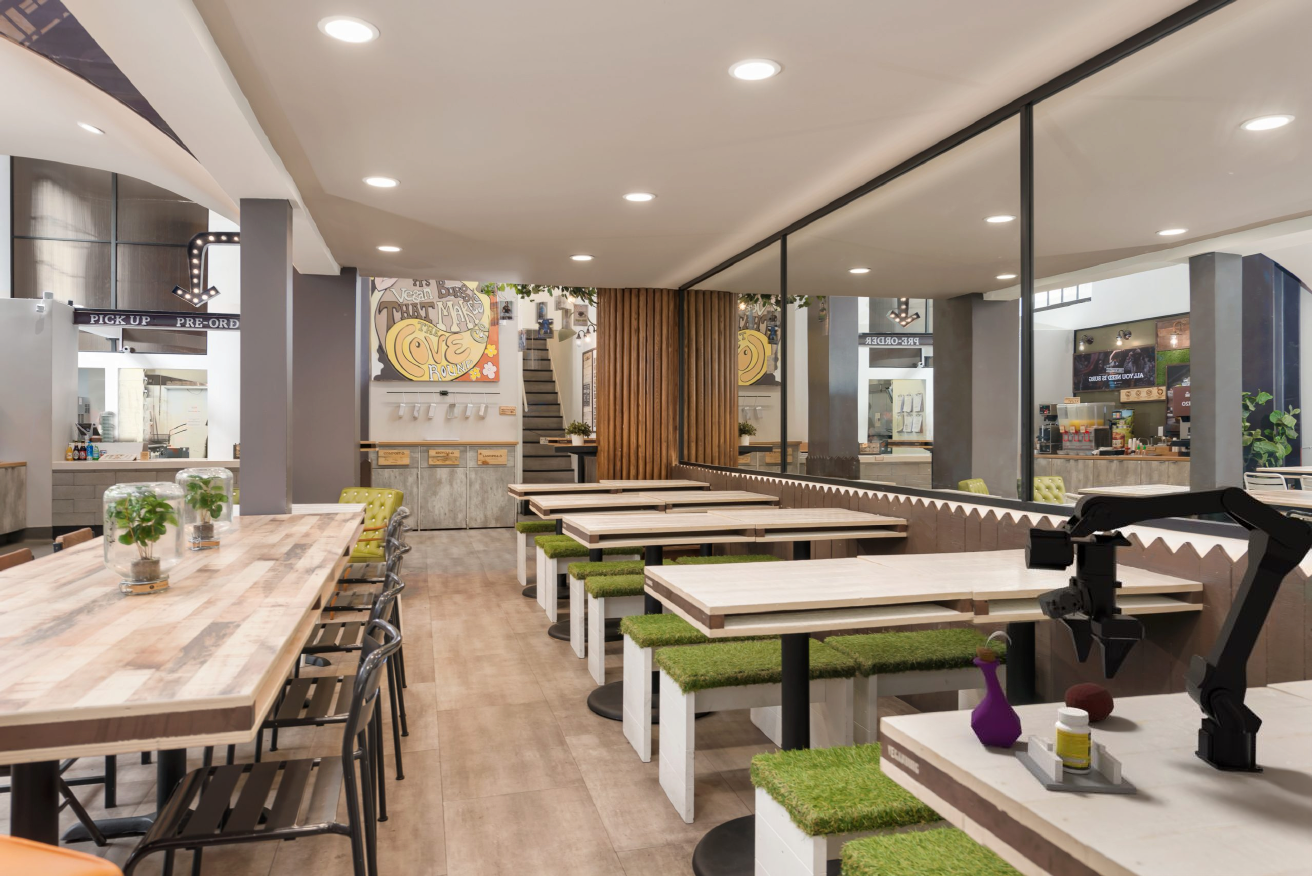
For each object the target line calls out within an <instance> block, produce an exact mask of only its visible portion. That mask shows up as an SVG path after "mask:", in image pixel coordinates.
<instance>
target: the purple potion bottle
mask: <svg viewBox="0 0 1312 876" xmlns="http://www.w3.org/2000/svg"><path fill="white" fill-rule="evenodd" d="M997 636H1004V637H1006V638H1007V639H1008V641H1009V643H1010V644H1012V640H1011V638H1010V636H1009V635H1008V634H1007V633H1006V632H1004V631H1003V630H998V631H995V632H993V633H992V634H991V635H990V636H989V637H988V639H987V642H986V644H985V646H978V647H976V648H975V650H976V654H977V657H975V658H973V664H974V665H977V666H978V667H979V668H980V670H981V672H982V673H983V674H982V675H983V676H984V679H985V683H986V694H985V697H984V698H983V699H982V700H981V702H979V704H978V705H977V706H976V707H974V709H973V710H972V711H971V713H970V715H971V717H970V719H971V720H970V727H971V728H972V729H971V730H973V732H974V734H975V735H976V737H977V738H978V740H979V742H980V744H981V745H984V746H990V747H997V748H1003V749H1004V748H1005V749H1010V748H1012V746H1013V745H1014V744H1015V743H1016V741H1017V740H1018V739H1019V738H1020V736H1021V735H1022V734H1023V730H1022V723H1021V722H1022V721H1021V717H1020V716H1019V715H1018V713H1017V712H1016V711H1015V709H1014V708H1013V706H1012V705H1011V704H1010V702H1009V701H1008V698H1007V696H1005V693H1004V691H1003V689H1002V686H1001V684H1000V680H999V679H998V676H997V672H996V671H997V668H998V667H999V666H1001V662H1000V660H999V659H997V658H996V652H995V650H994V649H992V648H990V647H988V643H989V641H990V640H991V639H992V638H994V637H997Z"/></svg>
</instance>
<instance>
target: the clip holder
mask: <svg viewBox="0 0 1312 876" xmlns="http://www.w3.org/2000/svg"><path fill="white" fill-rule="evenodd" d="M1106 748H1107V747H1106V744H1104V743H1103V742H1101V741H1100V740H1099V739H1092V738H1091V770H1090V772H1089V773H1086V774H1074V773H1069V772H1065V771H1063V770H1062V769H1063V761H1062V760H1061V759H1060V758H1059V757H1058V756H1057V755H1056V754H1055V751H1054V742H1052V741H1051V740H1049V738H1048V737H1040V738H1038V737H1037V735H1035V734H1028V735H1027V751H1015V758H1017V760H1018V761H1019V762H1020V763H1021V764H1022V765H1023V766H1024V767H1025V769H1027V771H1028V772H1029V773H1030V774H1031V775H1032V776H1033V777H1034V778H1035V779H1036V780H1037V781H1038V782H1039V783H1040V785H1042V786H1043V788H1045V790H1046V791H1065V792H1066V791H1068V792H1070V791H1071V792H1084V793H1085V792H1088V793H1090V792H1092V793H1111V794H1134V795H1137V787H1136V786H1134V785H1133V784H1131V783H1130V782H1129V781H1128V780H1127V779H1126V778H1124V776H1122V762H1121V761H1120V760H1118V759H1117V758H1116V757H1114V756H1113V754H1111V753H1109V752H1108V751H1107V750H1106Z"/></svg>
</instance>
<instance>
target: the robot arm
mask: <svg viewBox="0 0 1312 876" xmlns="http://www.w3.org/2000/svg"><path fill="white" fill-rule="evenodd" d="M1073 510H1074V511H1073V514H1072V515H1071V516H1070V517H1069V519H1068V520H1067V521H1066V522H1065V523H1064V524H1063V525H1062V526H1061V528H1060V529H1053V528H1052V529H1049V528H1040V527H1033V526H1031V527H1028V528H1027V536H1026V541H1025V542H1026V544H1025V545H1024V560H1025V567H1026V570H1039V571H1040V570H1042V571H1059V572H1061V571H1062V572H1065V571H1066V570H1067V567H1071V566H1073V565H1074V561H1075V560H1076V561H1075V570H1076V571H1075V575H1071V577H1069V578H1068V585H1067V586H1064V587H1059V588H1056V589H1052V590H1050V591H1046V592H1043V593H1040V594H1038V595H1037V596H1036V598H1037V601H1038V604H1039V607H1040V608H1041V612H1042V615H1043V616H1047V617H1048V618H1049V619H1050V620H1059V621H1060V622H1061V623H1062V624H1064V625H1065V626H1066V627H1067V629H1068V632H1069V635H1070V638H1071V641H1072V644H1073V648H1074V651H1075V655H1076V659H1077V662H1079V664H1080V663H1082V664H1084V663H1087V660H1088V658H1089V655H1090V652H1091V649H1092V646H1093V643H1094V640H1095V641H1096V642H1097V643H1098V644H1099V645H1100V654H1101V663H1102V671H1103V676H1104V678H1105V679H1107V680H1113V679H1114V677H1115V676H1116V674H1117V673H1118V671H1119V669H1120V667H1121V666H1122V664H1123V662H1124V661H1125V659H1126V657H1127V656H1128V654H1129V653H1130V651H1131V650H1132V649H1133V647H1134V645H1136V644H1137V643H1140V640H1144V639H1145V625H1144V624H1143V623H1142V622H1141V621H1140V620H1139V619H1137V618H1135V617H1133V616H1131V615H1128V614H1123V613H1122V611H1123V610H1122V609H1123V608H1122V607H1120V606H1118V605H1117V589H1123V582H1122V581H1119V580H1118V579H1117V578H1118V577H1117V576H1118V575H1117V571H1118V569H1117V566H1118V564H1117V563H1118V561H1117V560H1118V559H1117V558H1118V547H1132V546H1133V543H1132V542H1131V541H1130V540H1129V539H1127V537H1125V536H1124V534H1123V533H1122V531H1120V530H1118V529H1122V528H1126V527H1129V526H1132V525H1134V524H1135V525H1136V524H1137V523H1141V522H1145V521H1150V520H1151V521H1152V520H1159V519H1160V520H1161V519H1172V518H1180V517H1191V516H1193V517H1194V516H1203V515H1214V514H1222V513H1224V514H1226V515H1227V516H1228V517H1230V518H1231V519H1232V520H1233V521H1234V522H1236V523H1237V524H1238V525H1239V526H1240V527H1242V528H1244V529H1245V530H1247V532H1249V533H1250V534H1249V537H1248V543H1247V560H1248V561H1247V562H1248V563H1247V568H1246V571H1245V572H1244V575H1243V577H1242V579H1241V582H1240V584H1239V587H1238V589H1237V591H1236V594H1235V596H1234V599H1233V601H1232V603H1231V606H1230V608H1229V610H1228V612H1227V615H1226V616H1225V617H1226V618H1225V620H1224V622H1223V625H1222V626H1221V629H1220V631H1219V633H1218V636H1217V638H1216V641H1215V643H1214V645H1213V647H1212V649H1211V650H1210V651H1209V652H1208V653H1207V654H1206V655H1205V656H1203V657H1201V656H1199V655H1197V654H1196V653H1194V654H1193V655H1192V657H1191V659H1190V664H1189V668H1188V669H1187V671H1186V672H1185V673H1184V674H1183V675H1182V677H1183V678H1184V679H1186V681H1185V690H1186V692H1187V694H1188V696H1189V698H1190V699H1191V700H1193V701H1194V702H1195V703H1196V704H1197V705H1198V707H1199V709H1200V712H1201V713H1202V714H1204V715H1205V716H1206V718H1204V717H1203V718H1202V717H1201V721H1200V722H1201V723H1200V724H1201V726H1200V727H1201V728H1199V729H1198V730H1197V732H1198V733H1197V734H1198V735H1197V737H1198V738H1197V750H1194V755H1196V756H1197V757H1199V758H1200V759H1202V760H1203V761H1205V762H1207V763H1208V764H1210V765H1211V766H1213V767H1214V768H1215V769H1217V770H1222V771H1244V772H1264V767H1262V766H1261V765H1259V764H1258V763H1257V734H1258V733H1259V731H1260V729H1261V726H1262V724H1263V720H1262V719H1261V717H1259V716H1258V715H1257V714H1256V713H1255V712H1254V711H1253V710H1252V709H1251V708H1249V707H1248V706H1247V704H1245V698H1246V695H1247V688H1248V674H1247V673H1248V669H1247V666H1248V662H1249V659H1250V657H1251V656H1252V653H1253V651H1254V648H1255V646H1256V644H1257V641H1258V639H1259V637H1260V635H1261V631H1262V629H1263V628H1264V627H1263V626H1264V625H1265V622H1266V620H1267V618H1268V616H1269V613H1270V611H1271V608H1272V607H1273V604H1274V602H1275V599H1276V597H1277V594H1278V592H1279V590H1280V588H1281V587H1282V583H1283V581H1284V579H1285V578H1286V576H1288V575H1289V574H1290V573H1291V572H1292V571H1293V570H1295V569H1296V568H1297V567H1298V566H1299V565H1300V564H1301V563H1302V562H1303V560H1304V559H1305V557H1306V555H1308V553H1309V551H1310V550H1311V548H1312V527H1311V526H1310V524H1309V523H1308V522H1306V521H1305V520H1303V519H1301V518H1298V517H1293V516H1288V515H1285V514H1284V513H1281V512H1280V511H1278V510H1277V509H1276V508H1273V507H1272V506H1270V505H1268V504H1267V503H1264V502H1262V501H1261V500H1260V499H1259V500H1258V499H1257V498H1255V497H1254V496H1252V495H1251V494H1249V493H1248V492H1247V491H1246V490H1244V489H1243V488H1241V487H1238V486H1231V485H1220V486H1218V487H1215V488H1213V487H1212V488H1206V489H1205V488H1204V489H1195V490H1186V491H1175V492H1167V493H1166V492H1165V493H1158V494H1157V493H1156V494H1148V495H1147V494H1146V495H1138V496H1137V495H1136V496H1135V495H1125V494H1124V495H1123V494H1121V495H1120V494H1106V493H1087V494H1085V495H1082V496H1081V497H1079V499H1078V500H1077V501H1076V502H1075V504H1074V508H1073ZM1111 531H1113V532H1112V533H1110V534H1107V533H1106V532H1111ZM1096 532H1099V533H1096ZM1103 533H1106V534H1103ZM1087 537H1089V538H1087ZM1086 538H1087V539H1086ZM1075 545H1076V548H1075ZM1075 549H1076V550H1075ZM1075 554H1076V556H1075ZM1075 558H1076V559H1075Z"/></svg>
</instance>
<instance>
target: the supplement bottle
mask: <svg viewBox="0 0 1312 876" xmlns="http://www.w3.org/2000/svg"><path fill="white" fill-rule="evenodd" d="M1057 719H1058V720H1057V721H1056V722H1055V723H1054V753H1055V754H1056V755H1057V756H1058V757H1059V758H1060V759H1061V760H1062V761H1063V769H1062V770H1063V771H1065V772H1069V773H1074V774H1086V773H1089V772H1090V770H1091V739H1092V730H1091V729H1092V728H1091V727H1090V726H1089V725H1088V724H1089V722H1090V721H1089V719H1088V713H1087V712H1086V711H1084V710H1081V709H1077V708H1071V707H1066V706H1065V707H1063V706H1062V707H1059V708H1058V709H1057Z"/></svg>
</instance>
